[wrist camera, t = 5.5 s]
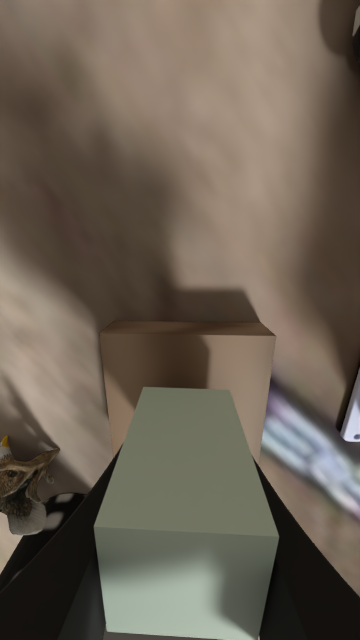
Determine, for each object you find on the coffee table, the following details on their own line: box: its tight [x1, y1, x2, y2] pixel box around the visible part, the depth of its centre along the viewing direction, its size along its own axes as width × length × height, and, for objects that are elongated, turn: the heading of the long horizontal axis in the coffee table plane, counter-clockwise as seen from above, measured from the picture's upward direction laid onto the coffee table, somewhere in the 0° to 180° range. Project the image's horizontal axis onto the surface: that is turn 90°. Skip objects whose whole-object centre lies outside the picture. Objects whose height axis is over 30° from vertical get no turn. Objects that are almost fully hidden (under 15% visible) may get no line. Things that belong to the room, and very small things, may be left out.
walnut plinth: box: [99, 321, 276, 464], centre depth 15 cm, size 10×10×3 cm
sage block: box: [94, 387, 279, 640], centre depth 9 cm, size 4×4×6 cm
